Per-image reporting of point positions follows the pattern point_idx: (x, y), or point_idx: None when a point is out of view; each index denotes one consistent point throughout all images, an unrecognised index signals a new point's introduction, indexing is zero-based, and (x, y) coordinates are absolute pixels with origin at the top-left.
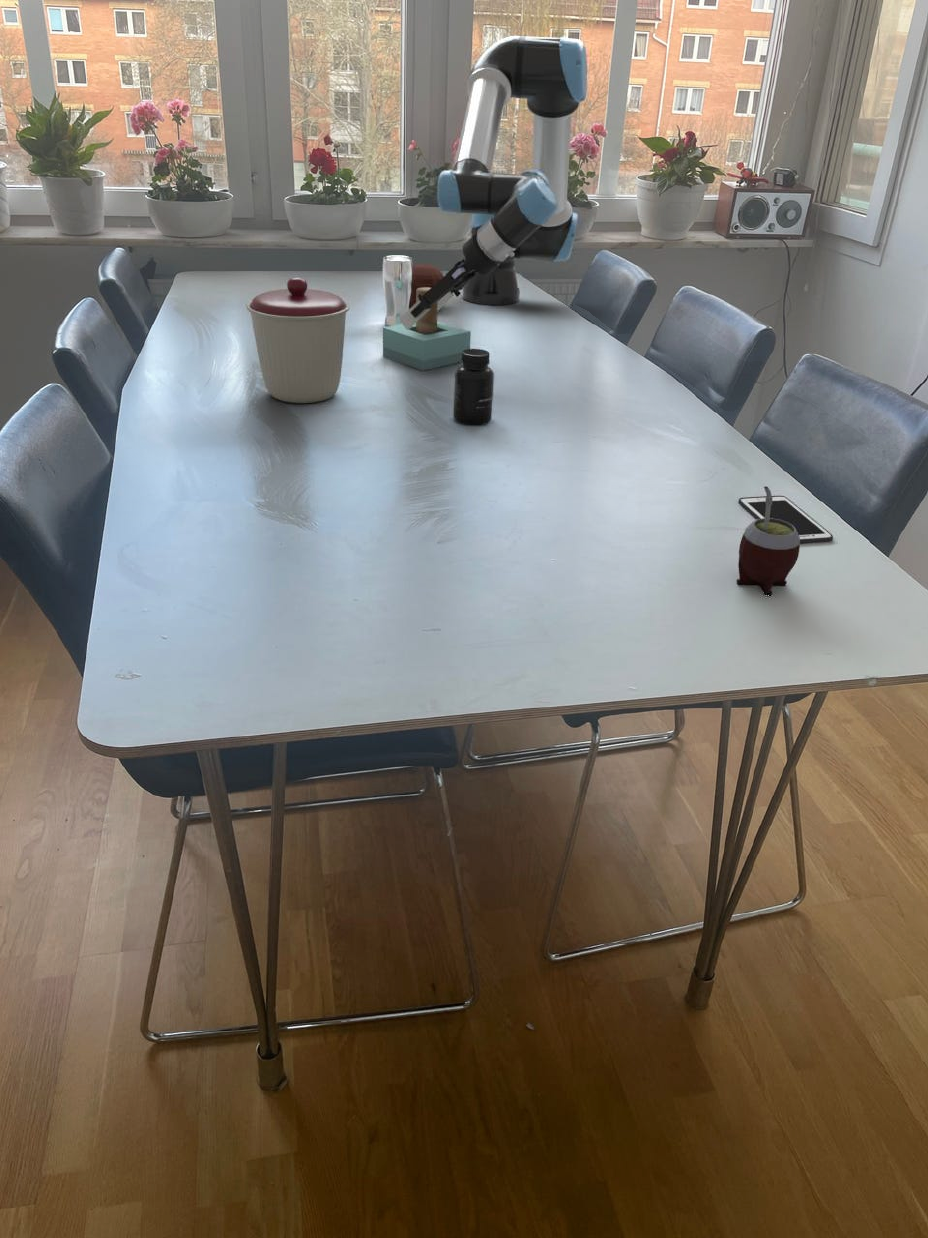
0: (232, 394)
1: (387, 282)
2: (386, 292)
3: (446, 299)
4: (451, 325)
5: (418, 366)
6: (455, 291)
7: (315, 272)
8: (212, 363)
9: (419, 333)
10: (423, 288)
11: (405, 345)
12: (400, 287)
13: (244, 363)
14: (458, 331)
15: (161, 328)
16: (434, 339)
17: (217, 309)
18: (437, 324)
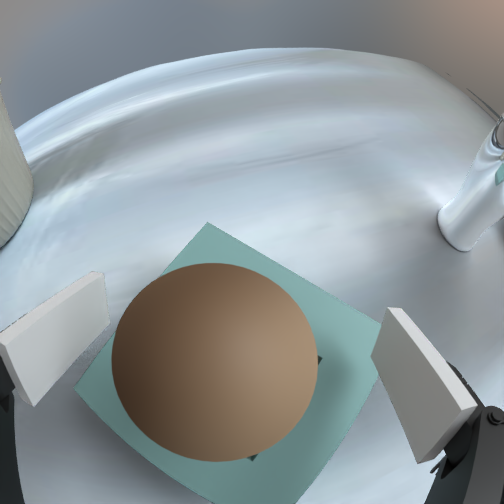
0: (26, 157)
1: (480, 154)
2: (470, 168)
3: (408, 425)
4: (335, 448)
5: None
6: (436, 478)
7: None
8: (131, 97)
9: None
10: (256, 313)
11: None
12: (491, 185)
13: (131, 113)
14: (250, 497)
15: (255, 49)
16: (108, 424)
17: (348, 64)
18: (330, 395)
